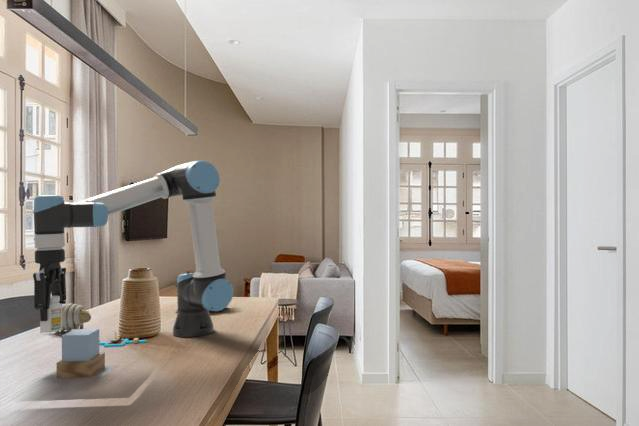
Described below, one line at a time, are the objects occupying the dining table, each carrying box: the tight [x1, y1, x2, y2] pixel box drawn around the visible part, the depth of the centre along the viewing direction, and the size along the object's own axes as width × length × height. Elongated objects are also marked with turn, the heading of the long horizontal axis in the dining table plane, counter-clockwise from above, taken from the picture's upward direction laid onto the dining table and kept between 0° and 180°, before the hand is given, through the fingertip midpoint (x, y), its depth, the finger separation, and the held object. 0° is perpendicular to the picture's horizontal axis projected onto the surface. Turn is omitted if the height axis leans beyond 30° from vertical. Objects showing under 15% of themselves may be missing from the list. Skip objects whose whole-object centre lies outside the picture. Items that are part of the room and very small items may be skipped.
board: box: [42, 365, 119, 380], centre depth 128 cm, size 16×10×2 cm, turn 93°
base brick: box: [56, 351, 106, 379], centre depth 128 cm, size 9×9×4 cm
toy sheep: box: [55, 302, 92, 334], centre depth 182 cm, size 11×17×11 cm, turn 98°
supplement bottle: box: [45, 295, 63, 334], centre depth 133 cm, size 5×5×10 cm
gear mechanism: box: [99, 330, 147, 348], centre depth 164 cm, size 20×5×9 cm
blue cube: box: [61, 328, 100, 362], centre depth 128 cm, size 7×7×7 cm
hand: (51, 329), depth 133 cm, fingers closed on supplement bottle, 5 cm apart
